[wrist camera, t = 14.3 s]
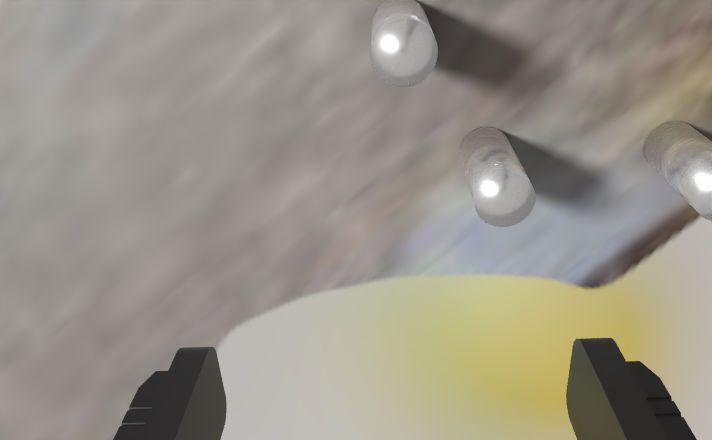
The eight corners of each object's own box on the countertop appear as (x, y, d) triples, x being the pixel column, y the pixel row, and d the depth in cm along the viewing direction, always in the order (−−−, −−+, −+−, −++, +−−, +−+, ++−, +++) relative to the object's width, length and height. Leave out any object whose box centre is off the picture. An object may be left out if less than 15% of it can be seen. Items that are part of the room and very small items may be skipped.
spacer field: (365, -170, 34) (362, -187, 27) (776, -194, 33) (884, -217, 26) (376, 176, 44) (376, 229, 37) (690, 167, 43) (750, 220, 36)
